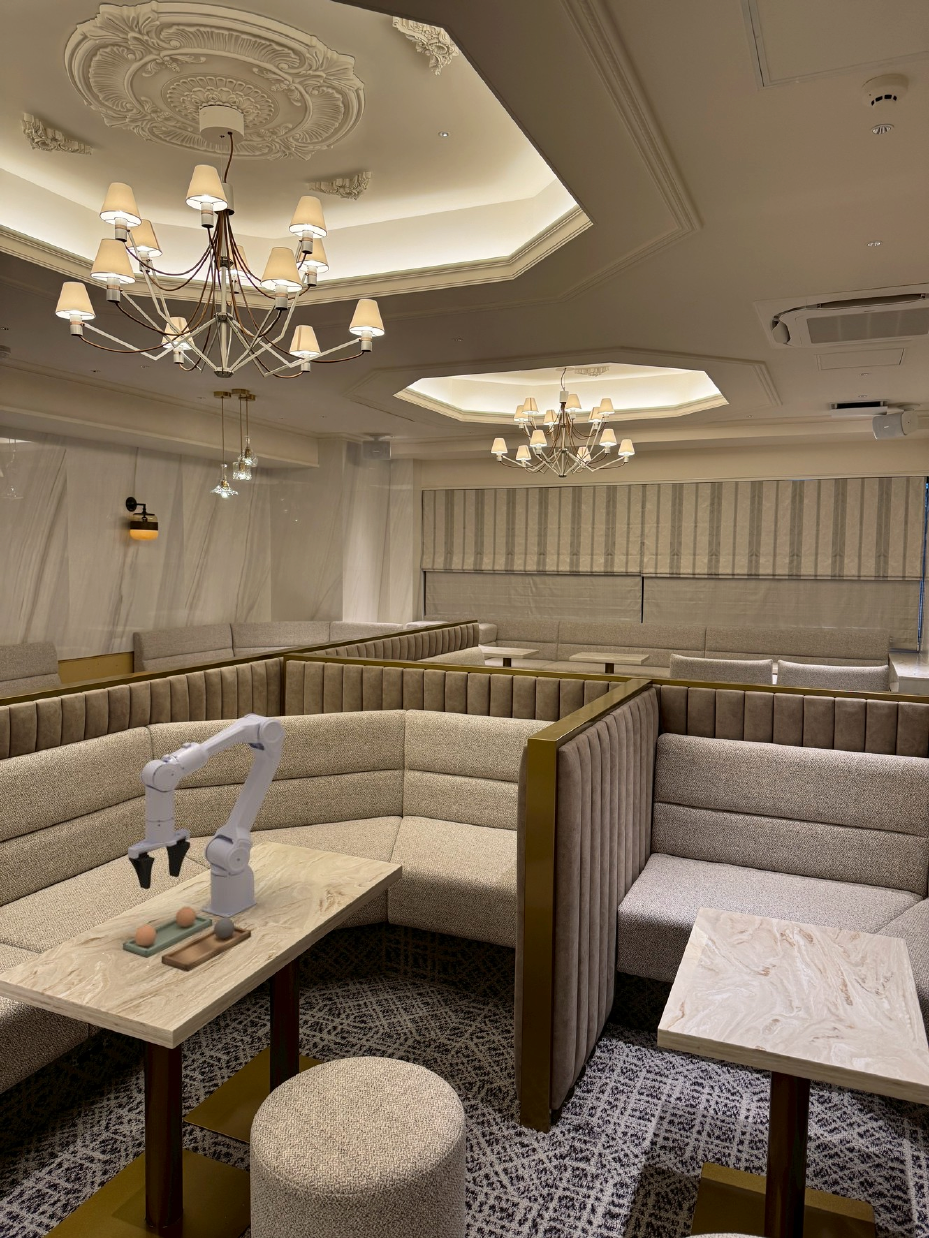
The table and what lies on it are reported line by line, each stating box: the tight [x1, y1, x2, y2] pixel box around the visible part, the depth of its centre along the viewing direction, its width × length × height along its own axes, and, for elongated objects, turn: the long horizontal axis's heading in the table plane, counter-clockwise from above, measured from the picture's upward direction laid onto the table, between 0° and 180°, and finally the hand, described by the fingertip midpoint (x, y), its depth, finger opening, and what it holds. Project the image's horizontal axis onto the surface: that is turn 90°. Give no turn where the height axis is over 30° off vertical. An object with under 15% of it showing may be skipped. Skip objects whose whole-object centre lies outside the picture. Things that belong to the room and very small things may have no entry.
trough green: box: [122, 914, 213, 958], centre depth 168 cm, size 17×7×1 cm, turn 152°
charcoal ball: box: [213, 917, 235, 939], centre depth 166 cm, size 4×4×4 cm
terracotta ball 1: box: [134, 925, 156, 947], centre depth 162 cm, size 4×4×4 cm
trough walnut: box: [161, 925, 252, 972], centre depth 162 cm, size 17×7×1 cm, turn 152°
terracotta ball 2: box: [175, 906, 197, 927], centre depth 171 cm, size 4×4×4 cm
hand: (160, 881), depth 170 cm, fingers open, 7 cm apart
